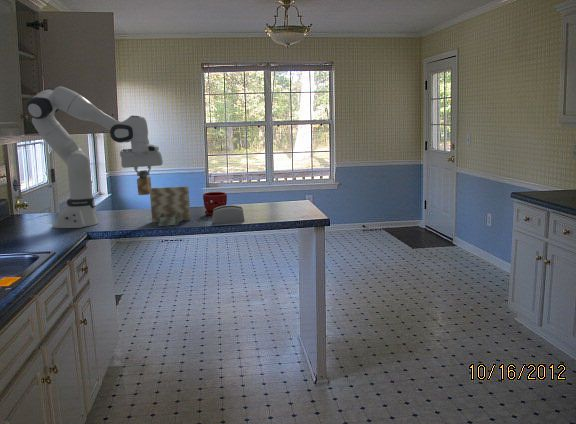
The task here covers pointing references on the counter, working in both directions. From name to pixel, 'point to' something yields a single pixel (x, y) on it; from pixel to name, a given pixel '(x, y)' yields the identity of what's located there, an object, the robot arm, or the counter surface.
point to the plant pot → (214, 201)
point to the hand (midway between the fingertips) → (143, 175)
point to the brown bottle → (144, 183)
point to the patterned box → (170, 205)
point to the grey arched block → (228, 214)
